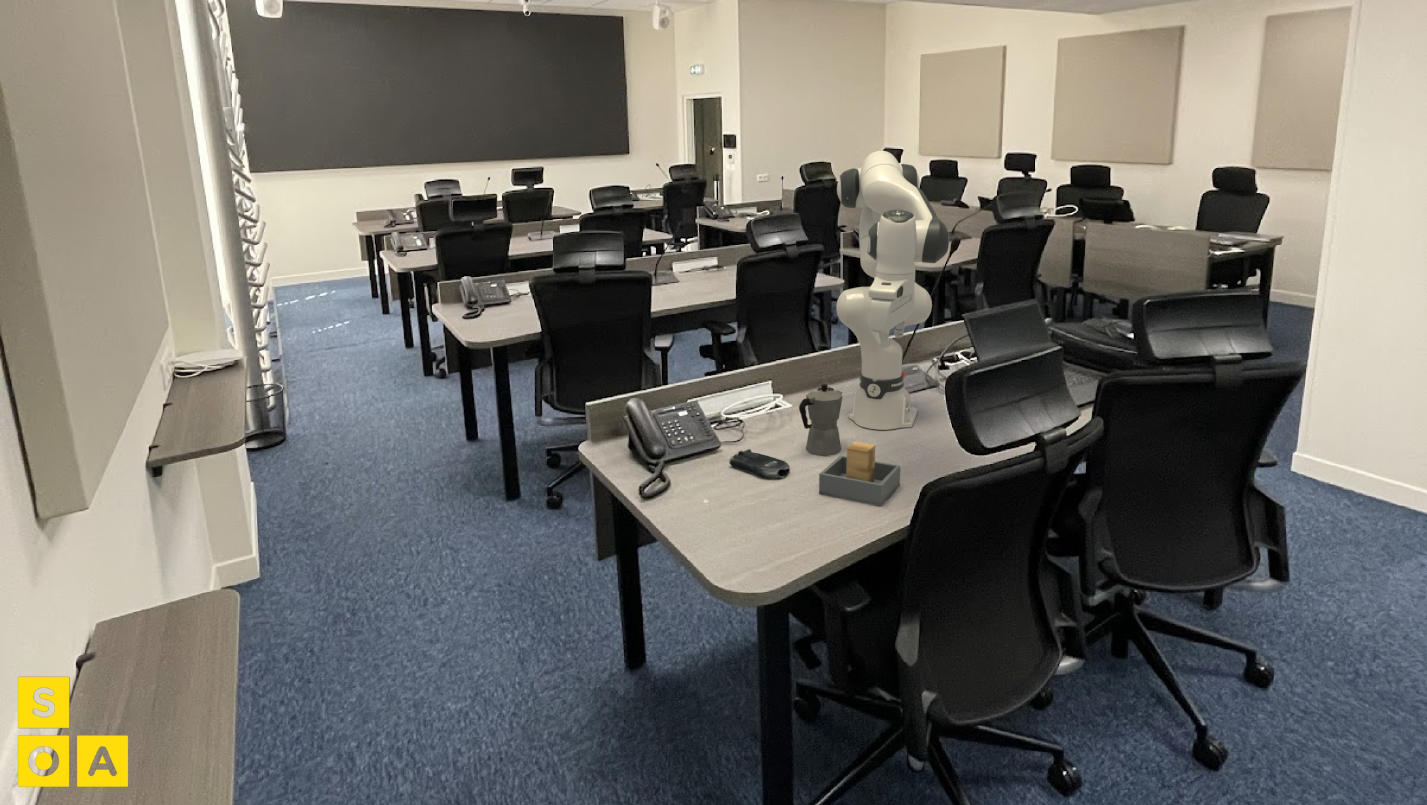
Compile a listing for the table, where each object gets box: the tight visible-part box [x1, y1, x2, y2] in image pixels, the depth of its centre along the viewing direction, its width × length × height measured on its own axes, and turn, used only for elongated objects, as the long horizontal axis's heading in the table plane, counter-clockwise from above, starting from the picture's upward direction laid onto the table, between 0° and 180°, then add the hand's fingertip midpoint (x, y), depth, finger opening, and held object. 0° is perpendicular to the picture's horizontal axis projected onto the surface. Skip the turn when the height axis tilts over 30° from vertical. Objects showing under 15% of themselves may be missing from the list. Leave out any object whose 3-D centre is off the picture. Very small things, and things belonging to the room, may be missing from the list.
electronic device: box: [728, 448, 791, 480], centre depth 216 cm, size 9×6×15 cm
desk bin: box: [818, 454, 901, 507], centre depth 203 cm, size 13×15×5 cm
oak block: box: [846, 440, 876, 483], centre depth 202 cm, size 5×5×10 cm
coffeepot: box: [798, 383, 844, 457], centre depth 225 cm, size 15×9×18 cm, turn 129°
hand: (892, 341), depth 203 cm, fingers open, 8 cm apart
